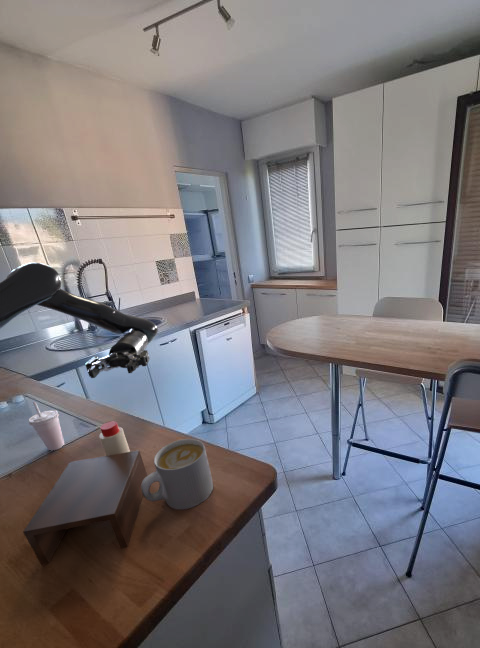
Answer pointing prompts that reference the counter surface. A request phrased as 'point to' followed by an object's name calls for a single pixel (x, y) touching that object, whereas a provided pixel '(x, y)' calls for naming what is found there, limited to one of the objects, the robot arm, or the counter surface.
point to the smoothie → (48, 428)
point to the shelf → (89, 501)
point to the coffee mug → (180, 475)
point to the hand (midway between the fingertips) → (110, 372)
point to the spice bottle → (113, 439)
